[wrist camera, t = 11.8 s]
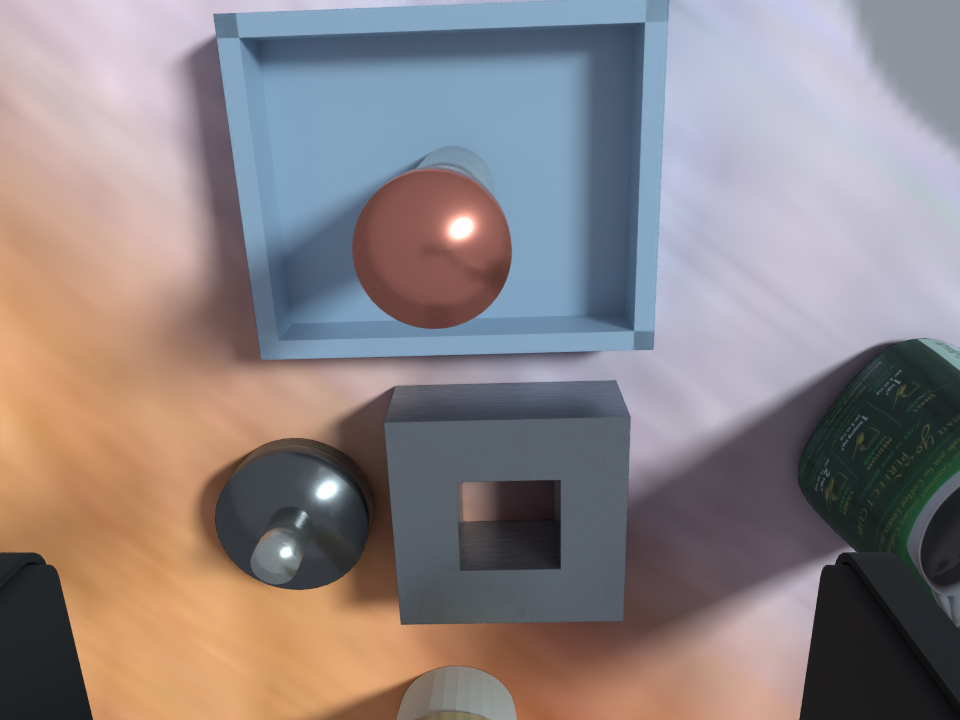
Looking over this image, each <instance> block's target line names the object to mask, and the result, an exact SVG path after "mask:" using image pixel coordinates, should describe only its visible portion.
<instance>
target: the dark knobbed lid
mask: <svg viewBox="0 0 960 720" xmlns="http://www.w3.org/2000/svg"><path fill="white" fill-rule="evenodd" d="M373 512H374V502H373V496H372V492H371V488H370V485H369V483H368V481H367V479H366V477H365V476H364V474H363V473H362V471H361V470H360V468H359V467H358V466H357V465H356V464H355V463H354V462H353V461H352V460H351V459H350V458H349V457H348V456H346V455H345V454H343V453H342V452H341V451H339V450H337V449H335V448H333V447H332V446H329V445H327V444H324V443H322V442H318V441H314V440H309V439H303V438H289V439H281V440H276V441H273V442H270V443H267V444H264V445H262V446H260V447H258V448H257V449H255V450H254V451H252V452H251V453H250V454H249V455H248V456H246V457H245V458H244V459H243V461H242V462H241V463H240V464H239V466H238V467H237V469H236V470H235V472H234V473H233V475H232V476H231V478H230V479H229V481H228V482H227V484H226V485H225V487H224V489H223V491H222V492H221V494H220V497H219V499H218V502H217V507H216V514H215V521H216V529H217V533H218V537H219V539H220V542H221V544H222V546H223V548H224V550H225V551H226V553H227V554H228V556H229V557H230V558H231V560H232V561H233V562H234V563H235V564H236V565H237V566H238V567H239V568H241V569H242V570H243V571H244V572H245V573H247V574H249V575H250V576H252V577H253V578H255V579H257V580H259V581H261V582H263V583H266V584H268V585H271V586H275V587H279V588H284V589H292V590H304V589H313V588H318V587H321V586H325V585H328V584H330V583H332V582H334V581H336V580H338V579H339V578H341V577H343V576H344V575H345V574H346V573H348V572H349V571H350V570H351V569H352V568H353V567H354V566H355V564H356V563H357V561H358V560H359V558H360V557H361V555H362V553H363V550H364V548H365V544H366V541H367V537H368V533H369V530H370V526H371V523H372V519H373Z"/></svg>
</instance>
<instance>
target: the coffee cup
mask: <svg viewBox="0 0 960 720" xmlns="http://www.w3.org/2000/svg"><path fill="white" fill-rule="evenodd" d="M396 720H517V717H516V711H515V705H514V702H513V699H512V696H511V695H510V693H509V691H508V690H507V688H506V687H505V686H504V685H503V684H502V683H501V682H500V681H499V680H497V679H496V678H495V677H493V676H492V675H490V674H488V673H486V672H484V671H482V670H478V669H475V668H471V667H463V666H447V667H443V668H438V669H435V670H432V671H429V672H427V673H425V674H423V675H422V676H420V677H419V678H417V679H416V680H415V681H414V682H413V683H412V684H411V685H410V686H409V687H408V689H407V690H406V692H405V694H404V696H403V699H402V702H401V705H400V708H399V712H398V715H397V719H396Z"/></svg>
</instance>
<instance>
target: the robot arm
mask: <svg viewBox="0 0 960 720" xmlns="http://www.w3.org/2000/svg"><path fill="white" fill-rule="evenodd" d="M0 720H93V718H92V714H91V709H90V705H89V701H88V697H87V692H86V688H85V684H84V680H83V676H82V671H81V667H80V663H79V659H78V655H77V650H76V646H75V642H74V638H73V634H72V629H71V625H70V621H69V617H68V613H67V608H66V604H65V600H64V596H63V591H62V587H61V583H60V579H59V575H58V573H57V570H56V569H55V568H54V567H53V566H52V565H46V562H45V560H44V559H43V558H42V556H41V555H39V554H37V553H0ZM799 720H960V630H959V629H958V627H957V626H956V625H955V624H954V623H953V621H952V620H951V619H950V618H949V617H948V615H947V614H946V613H945V612H944V611H943V609H942V608H941V607H940V606H939V605H938V603H937V602H936V601H935V600H934V599H933V597H932V596H931V595H930V594H929V593H928V591H927V590H926V589H925V588H924V587H923V585H922V584H921V583H920V582H919V581H918V579H917V578H916V577H915V576H914V575H913V573H912V572H911V571H910V570H909V569H908V567H907V566H906V565H905V564H904V563H903V561H902V560H901V559H900V558H899V557H898V556H897V555H896V554H894V553H889V552H844V553H842V554H840V555H839V556H838V558H837V560H836V563H835V565H826V566H824V568H823V570H822V572H821V576H820V583H819V590H818V597H817V604H816V610H815V617H814V624H813V631H812V638H811V644H810V651H809V658H808V665H807V672H806V678H805V685H804V692H803V699H802V706H801V712H800V719H799Z"/></svg>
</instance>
